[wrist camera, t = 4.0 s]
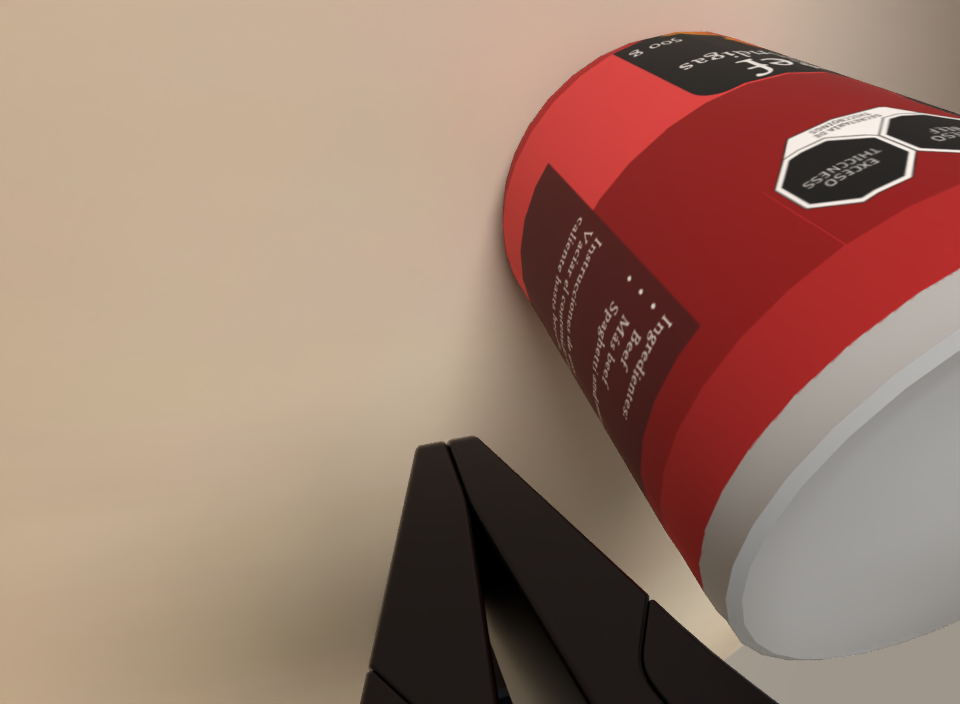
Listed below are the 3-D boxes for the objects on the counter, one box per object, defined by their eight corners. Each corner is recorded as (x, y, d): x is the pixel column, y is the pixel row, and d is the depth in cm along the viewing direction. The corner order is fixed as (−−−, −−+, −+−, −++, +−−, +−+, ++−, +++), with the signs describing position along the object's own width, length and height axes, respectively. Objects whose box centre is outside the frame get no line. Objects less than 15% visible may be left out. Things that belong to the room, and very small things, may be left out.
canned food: (822, 140, 18) (1338, 387, 9) (625, 350, 20) (879, 692, 12) (650, -61, 14) (1286, 43, 5) (433, 233, 16) (607, 625, 8)
